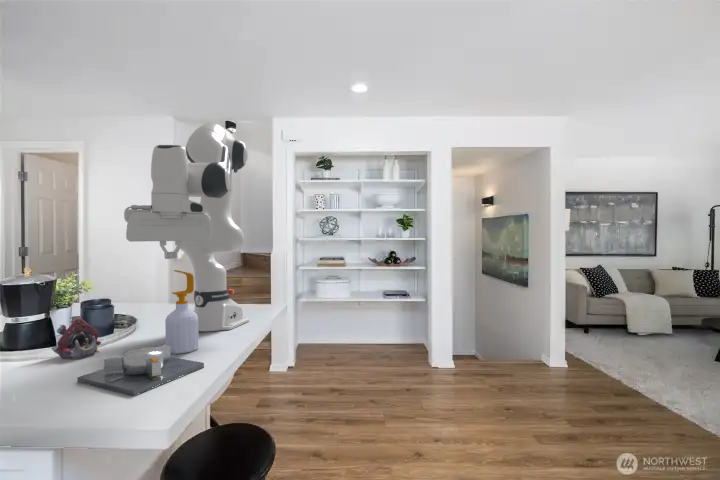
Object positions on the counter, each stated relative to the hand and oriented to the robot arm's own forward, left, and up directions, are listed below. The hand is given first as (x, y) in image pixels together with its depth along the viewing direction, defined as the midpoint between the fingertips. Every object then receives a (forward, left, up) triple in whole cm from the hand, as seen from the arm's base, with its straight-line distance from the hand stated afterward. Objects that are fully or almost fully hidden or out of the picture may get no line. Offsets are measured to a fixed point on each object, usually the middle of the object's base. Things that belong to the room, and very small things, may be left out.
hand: (170, 258), depth 102 cm
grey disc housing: (+7, -1, -28) cm, 28 cm away
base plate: (+6, -3, -29) cm, 30 cm away
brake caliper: (+3, -35, -29) cm, 46 cm away
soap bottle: (-13, -11, -29) cm, 34 cm away
